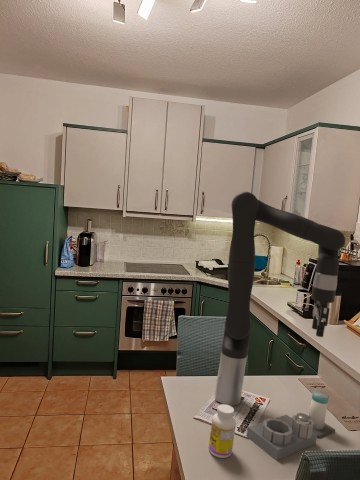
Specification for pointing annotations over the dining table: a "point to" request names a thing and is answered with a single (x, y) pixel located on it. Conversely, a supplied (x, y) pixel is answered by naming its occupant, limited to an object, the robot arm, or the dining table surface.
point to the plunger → (303, 418)
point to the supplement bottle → (222, 432)
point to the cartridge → (318, 409)
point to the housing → (282, 436)
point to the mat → (324, 431)
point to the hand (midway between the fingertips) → (317, 332)
